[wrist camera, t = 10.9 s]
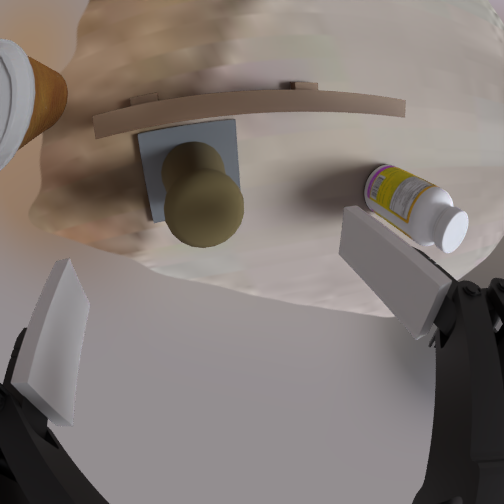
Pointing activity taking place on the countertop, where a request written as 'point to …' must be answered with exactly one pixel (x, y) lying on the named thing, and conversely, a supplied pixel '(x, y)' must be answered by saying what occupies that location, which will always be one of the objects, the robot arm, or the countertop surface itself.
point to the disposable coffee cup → (26, 99)
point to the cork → (200, 196)
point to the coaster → (165, 140)
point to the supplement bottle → (416, 208)
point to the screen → (240, 106)
